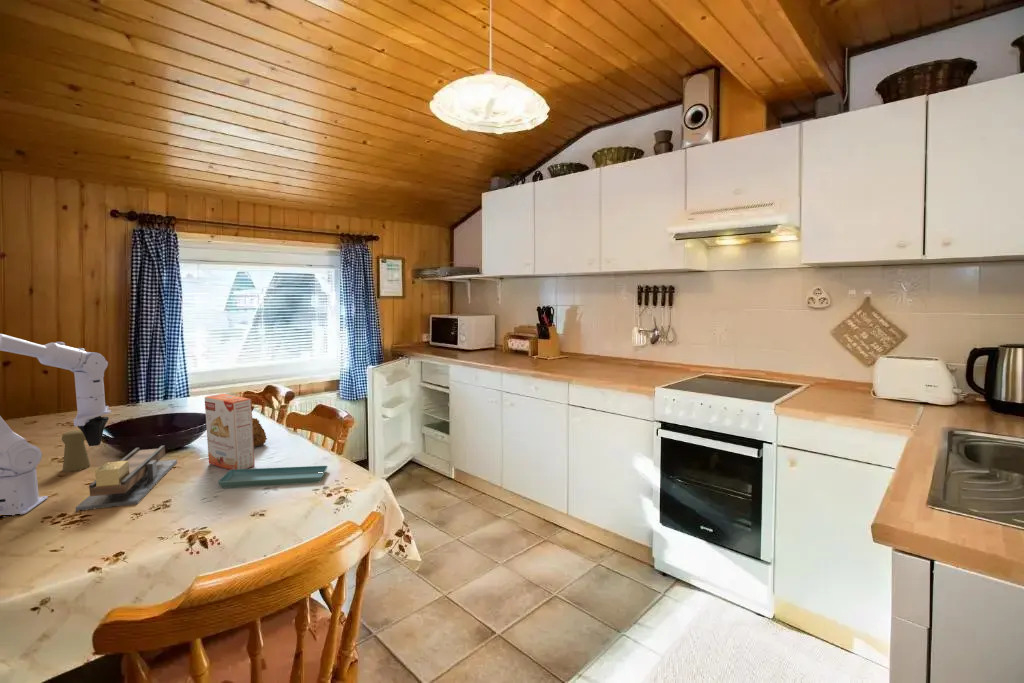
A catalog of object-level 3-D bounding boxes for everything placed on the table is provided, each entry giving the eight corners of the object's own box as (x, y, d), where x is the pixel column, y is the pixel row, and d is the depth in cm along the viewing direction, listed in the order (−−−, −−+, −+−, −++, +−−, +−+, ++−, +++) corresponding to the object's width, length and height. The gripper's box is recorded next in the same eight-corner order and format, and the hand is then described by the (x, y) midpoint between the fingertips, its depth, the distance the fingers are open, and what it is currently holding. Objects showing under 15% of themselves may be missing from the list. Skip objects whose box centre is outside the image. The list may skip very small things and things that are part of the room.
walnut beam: (125, 492, 116) (124, 481, 116) (90, 496, 113) (89, 485, 113) (165, 454, 142) (164, 445, 142) (137, 456, 140) (136, 447, 139)
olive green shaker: (73, 472, 136) (70, 435, 134) (56, 470, 137) (53, 433, 136) (95, 465, 141) (92, 429, 140) (79, 463, 143) (76, 427, 141)
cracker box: (207, 464, 143) (203, 396, 140) (227, 458, 148) (223, 392, 146) (235, 473, 136) (232, 401, 134) (255, 466, 141) (252, 397, 139)
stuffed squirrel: (251, 437, 169) (249, 401, 168) (276, 444, 163) (275, 406, 161) (223, 445, 161) (221, 407, 159) (248, 452, 154) (246, 412, 153)
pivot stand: (137, 504, 116) (135, 482, 115) (75, 511, 112) (73, 488, 111) (176, 462, 144) (175, 445, 144) (128, 467, 140) (127, 449, 139)
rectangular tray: (328, 471, 139) (328, 463, 139) (322, 484, 130) (321, 475, 130) (230, 477, 134) (230, 469, 134) (217, 491, 125) (216, 482, 125)
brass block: (119, 484, 116) (118, 469, 115) (96, 487, 114) (95, 471, 114) (129, 475, 121) (128, 460, 121) (107, 477, 120) (106, 462, 119)
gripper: (96, 400, 122) (100, 452, 124) (120, 389, 136) (123, 436, 137) (61, 402, 120) (66, 454, 121) (89, 391, 134) (93, 438, 135)
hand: (94, 445), depth 129 cm, fingers closed
